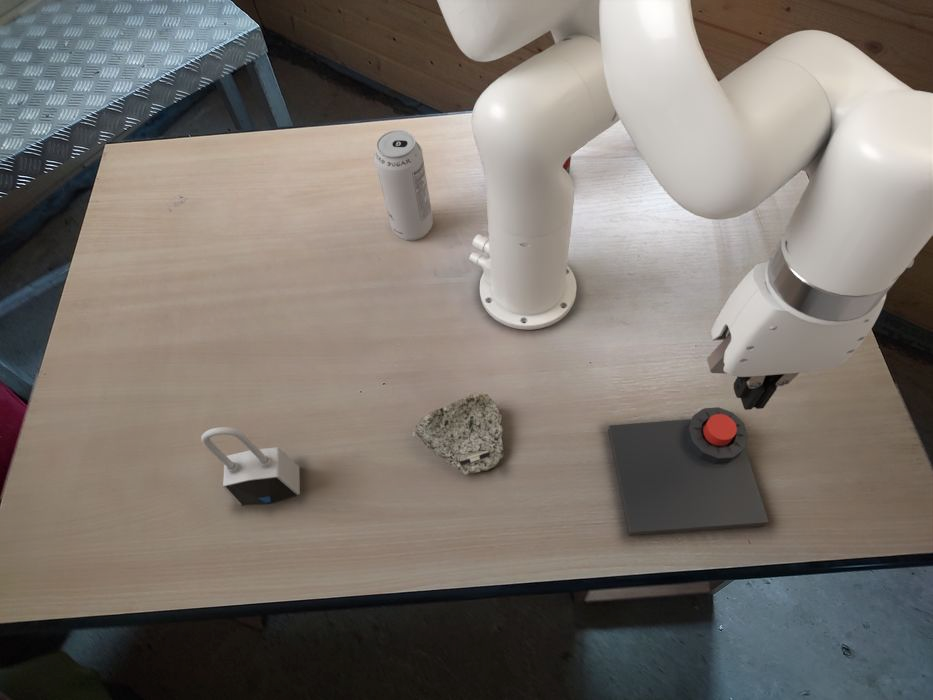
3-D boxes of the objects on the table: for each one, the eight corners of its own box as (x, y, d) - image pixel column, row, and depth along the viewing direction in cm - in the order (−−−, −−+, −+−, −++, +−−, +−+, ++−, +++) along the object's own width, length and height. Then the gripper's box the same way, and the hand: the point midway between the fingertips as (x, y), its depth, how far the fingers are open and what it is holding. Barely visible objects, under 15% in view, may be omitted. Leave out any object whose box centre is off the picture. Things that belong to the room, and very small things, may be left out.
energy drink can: (396, 211, 91) (377, 126, 78) (436, 213, 90) (424, 127, 77) (388, 242, 88) (367, 158, 75) (429, 244, 87) (415, 160, 74)
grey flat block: (628, 536, 64) (632, 528, 62) (607, 426, 71) (610, 415, 68) (764, 526, 64) (775, 517, 61) (730, 417, 70) (738, 405, 68)
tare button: (707, 447, 66) (711, 440, 64) (699, 421, 67) (704, 414, 66) (735, 445, 66) (740, 438, 64) (727, 419, 67) (732, 412, 66)
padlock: (239, 509, 68) (177, 457, 56) (241, 473, 71) (181, 415, 58) (299, 498, 69) (250, 444, 56) (299, 463, 71) (252, 403, 58)
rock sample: (461, 495, 63) (444, 414, 62) (420, 483, 70) (403, 409, 68) (532, 460, 70) (518, 385, 68) (489, 452, 76) (474, 383, 74)
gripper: (913, 221, 45) (814, 355, 60) (706, 240, 45) (659, 368, 61) (964, 303, 41) (843, 424, 56) (735, 323, 41) (678, 438, 57)
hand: (748, 395), depth 59 cm, fingers closed
